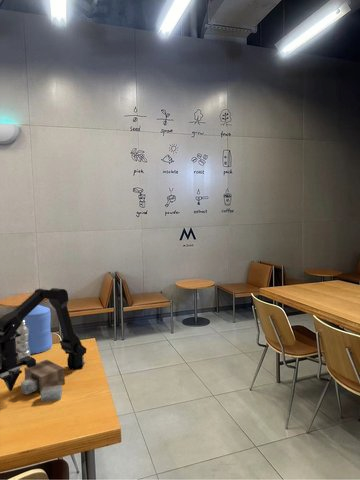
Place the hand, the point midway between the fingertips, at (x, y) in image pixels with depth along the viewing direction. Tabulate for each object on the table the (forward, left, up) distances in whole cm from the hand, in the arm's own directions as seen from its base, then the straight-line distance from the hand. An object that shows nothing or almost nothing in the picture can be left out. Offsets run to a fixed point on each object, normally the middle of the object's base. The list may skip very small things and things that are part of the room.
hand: (10, 390), depth 127 cm
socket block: (-9, -12, -4) cm, 16 cm away
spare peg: (-15, 0, -4) cm, 16 cm away
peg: (-6, -6, -3) cm, 9 cm away
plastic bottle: (+9, -39, -4) cm, 40 cm away
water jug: (+7, -53, -4) cm, 54 cm away
